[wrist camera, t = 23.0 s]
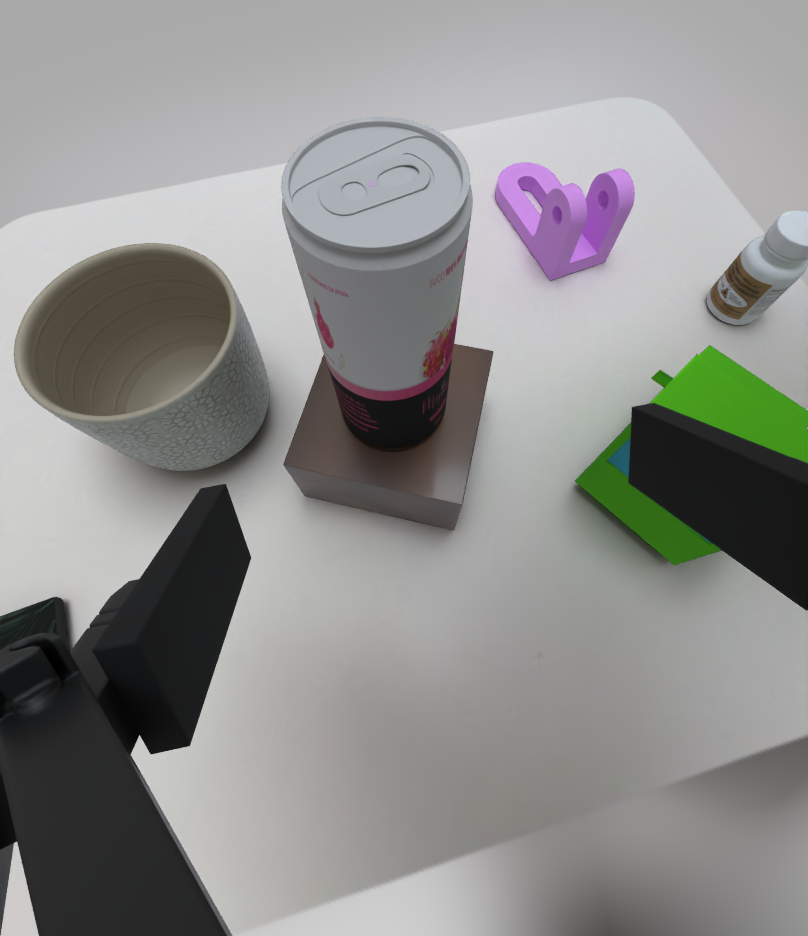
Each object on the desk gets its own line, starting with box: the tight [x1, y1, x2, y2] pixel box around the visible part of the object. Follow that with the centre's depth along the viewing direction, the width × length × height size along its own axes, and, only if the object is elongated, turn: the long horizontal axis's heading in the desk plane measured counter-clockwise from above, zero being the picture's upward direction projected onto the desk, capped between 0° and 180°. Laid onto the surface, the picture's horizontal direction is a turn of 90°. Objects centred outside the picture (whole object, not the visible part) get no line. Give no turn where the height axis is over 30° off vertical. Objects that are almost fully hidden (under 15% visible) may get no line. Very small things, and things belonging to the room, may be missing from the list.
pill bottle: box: [707, 211, 808, 325], centre depth 35 cm, size 4×4×8 cm
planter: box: [14, 243, 269, 471], centre depth 31 cm, size 12×12×11 cm
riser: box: [283, 344, 493, 530], centre depth 32 cm, size 11×11×6 cm
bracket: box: [495, 163, 634, 281], centre depth 40 cm, size 13×6×7 cm, turn 22°
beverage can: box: [281, 117, 473, 449], centre depth 22 cm, size 7×7×15 cm
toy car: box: [575, 345, 808, 565], centre depth 29 cm, size 10×13×10 cm
